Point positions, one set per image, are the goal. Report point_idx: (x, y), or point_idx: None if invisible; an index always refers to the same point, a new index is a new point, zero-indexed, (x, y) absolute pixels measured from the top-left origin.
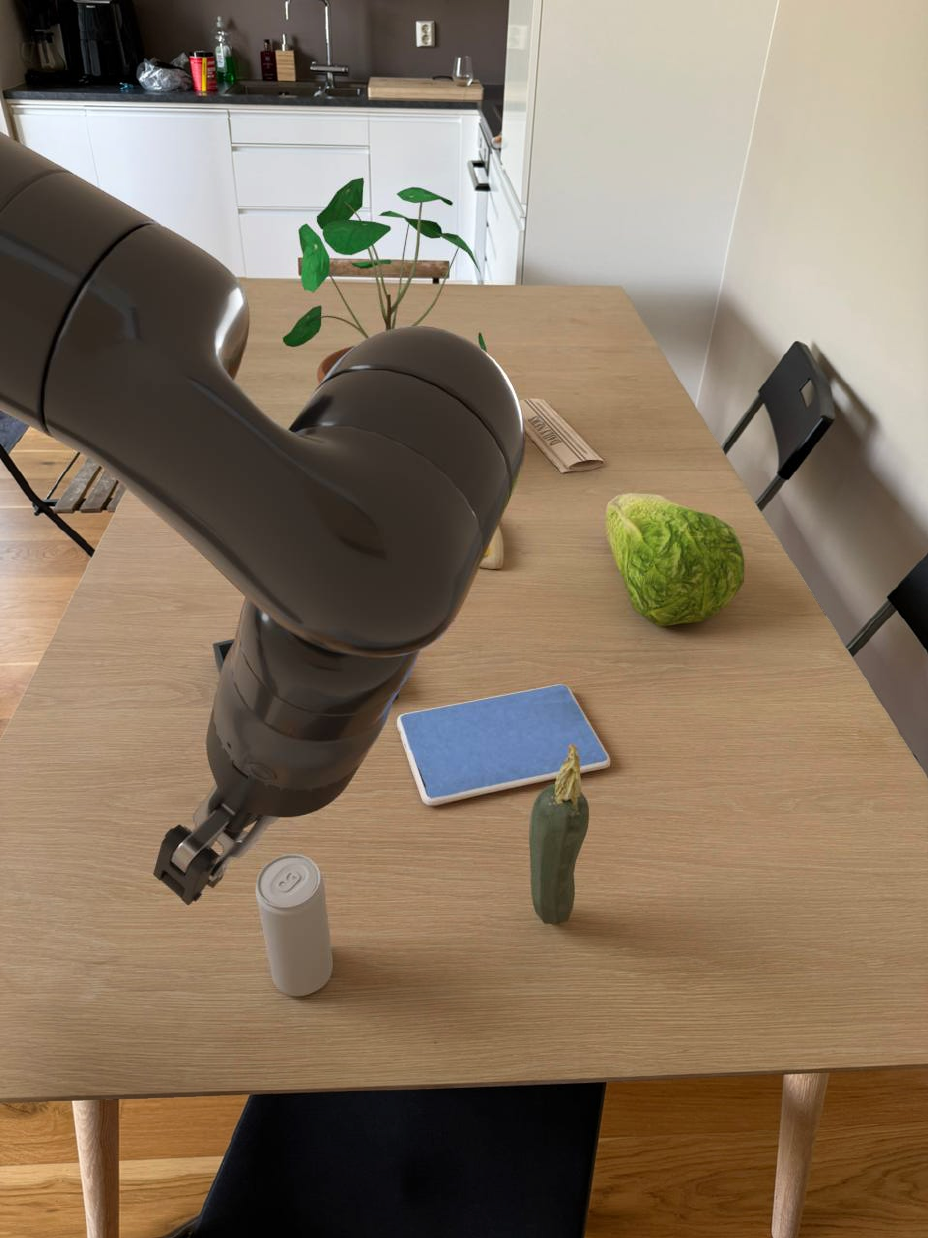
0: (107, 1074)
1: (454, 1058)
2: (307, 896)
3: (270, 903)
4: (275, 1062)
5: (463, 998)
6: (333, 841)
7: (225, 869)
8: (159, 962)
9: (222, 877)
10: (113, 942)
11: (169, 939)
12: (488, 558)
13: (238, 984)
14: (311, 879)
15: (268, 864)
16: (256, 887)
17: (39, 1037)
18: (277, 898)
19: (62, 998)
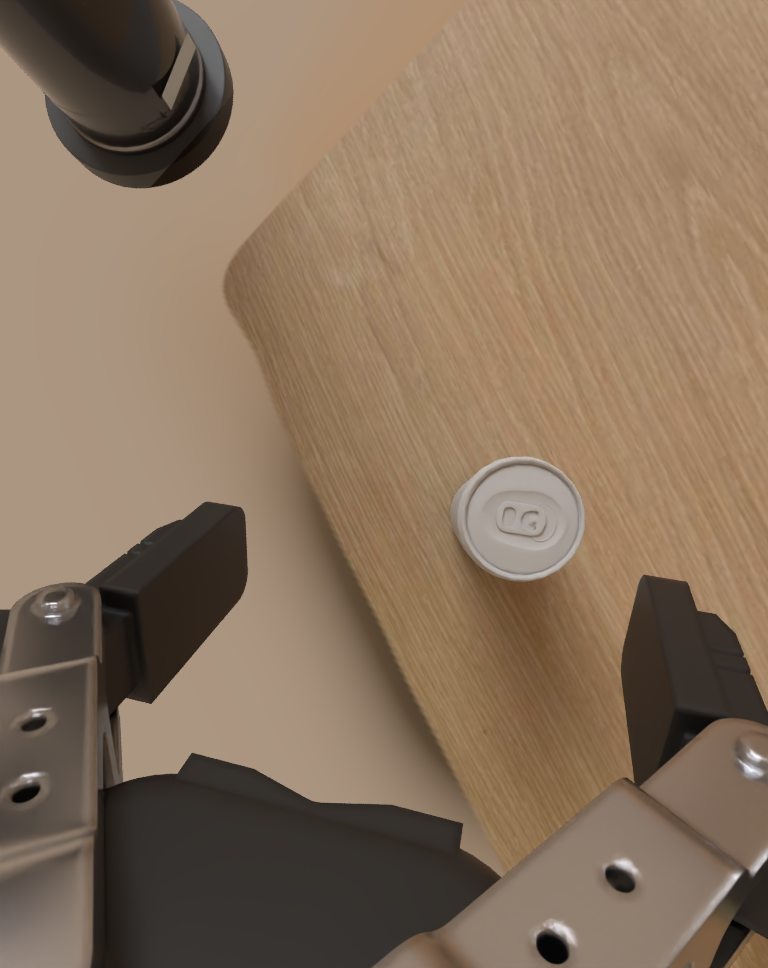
0: (269, 371)
1: (476, 764)
2: (508, 569)
3: (463, 517)
4: (370, 551)
5: (559, 742)
6: (715, 432)
7: (188, 658)
8: (417, 326)
9: (231, 607)
10: (413, 249)
11: (452, 315)
12: None
13: (438, 444)
14: (544, 556)
15: (535, 463)
16: (488, 466)
17: (269, 262)
18: (479, 522)
19: (321, 249)
